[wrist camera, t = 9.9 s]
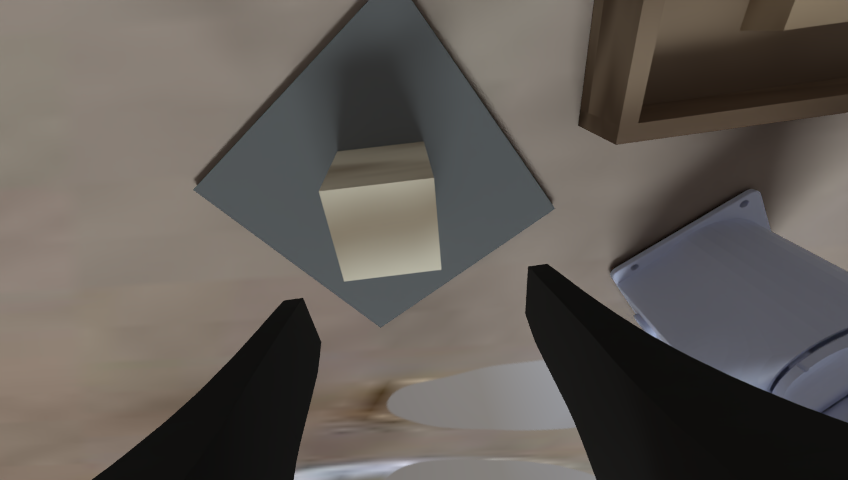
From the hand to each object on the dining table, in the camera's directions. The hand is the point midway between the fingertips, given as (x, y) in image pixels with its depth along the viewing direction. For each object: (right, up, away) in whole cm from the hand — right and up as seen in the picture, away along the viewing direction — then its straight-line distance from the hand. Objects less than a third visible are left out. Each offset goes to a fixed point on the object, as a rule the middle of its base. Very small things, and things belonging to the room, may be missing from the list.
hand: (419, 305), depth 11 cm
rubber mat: (-2, +5, +8) cm, 9 cm away
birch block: (-2, +5, +7) cm, 9 cm away
